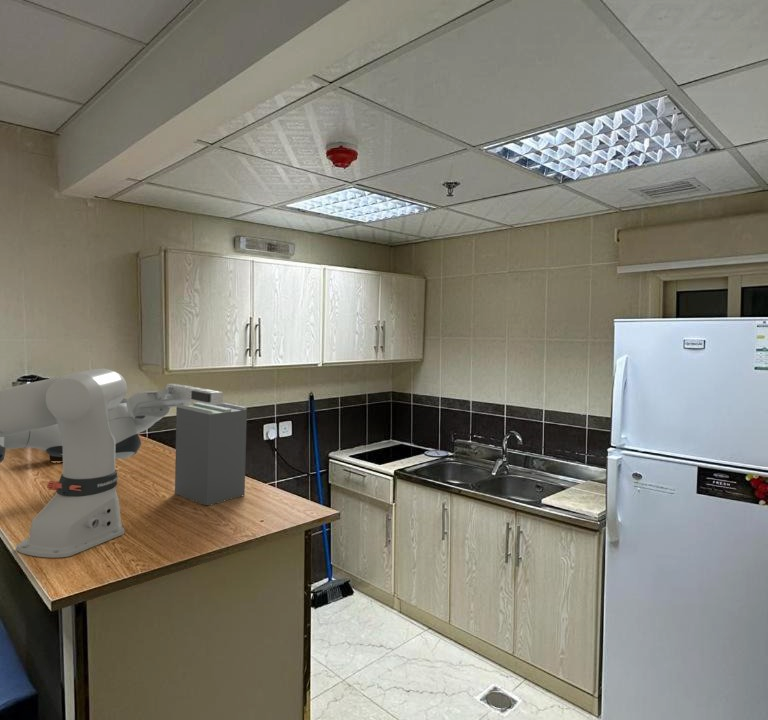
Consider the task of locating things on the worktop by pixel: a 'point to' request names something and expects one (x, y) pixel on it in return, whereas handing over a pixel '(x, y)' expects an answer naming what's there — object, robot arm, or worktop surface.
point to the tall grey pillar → (210, 452)
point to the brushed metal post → (196, 394)
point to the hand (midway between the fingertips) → (175, 388)
